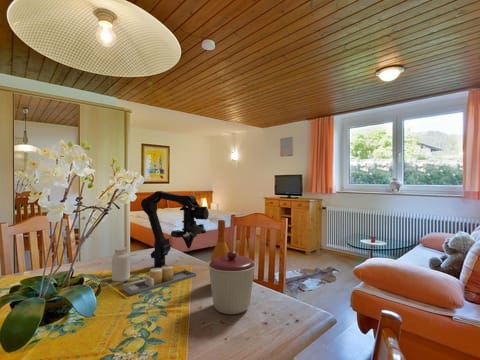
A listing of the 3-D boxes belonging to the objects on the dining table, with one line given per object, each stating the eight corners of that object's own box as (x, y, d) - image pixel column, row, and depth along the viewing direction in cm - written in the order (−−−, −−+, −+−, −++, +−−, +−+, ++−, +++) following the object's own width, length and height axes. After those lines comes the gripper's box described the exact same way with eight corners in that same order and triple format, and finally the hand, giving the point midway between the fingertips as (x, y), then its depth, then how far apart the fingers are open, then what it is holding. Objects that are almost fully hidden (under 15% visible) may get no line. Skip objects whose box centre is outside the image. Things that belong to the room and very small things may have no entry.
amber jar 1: (147, 284, 119) (147, 269, 119) (158, 280, 123) (158, 266, 123) (153, 287, 115) (153, 272, 115) (164, 283, 119) (165, 269, 119)
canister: (263, 316, 91) (263, 255, 92) (212, 324, 86) (212, 259, 87) (247, 295, 109) (247, 244, 109) (203, 300, 104) (204, 247, 104)
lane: (122, 290, 113) (122, 283, 113) (185, 273, 136) (185, 267, 136) (131, 297, 106) (131, 290, 106) (196, 277, 129) (196, 271, 129)
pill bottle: (107, 281, 124) (108, 249, 124) (121, 275, 131) (121, 245, 132) (120, 283, 121) (120, 251, 121) (133, 277, 128) (133, 247, 129)
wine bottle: (236, 286, 118) (236, 219, 119) (220, 292, 111) (220, 222, 112) (221, 280, 125) (222, 217, 125) (205, 286, 118) (206, 219, 118)
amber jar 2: (158, 280, 123) (158, 266, 123) (169, 277, 127) (169, 264, 127) (164, 284, 119) (164, 269, 119) (175, 280, 123) (175, 266, 123)
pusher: (122, 290, 111) (122, 281, 111) (146, 283, 119) (146, 275, 119) (128, 294, 107) (129, 285, 107) (154, 287, 115) (154, 278, 115)
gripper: (182, 222, 127) (182, 254, 127) (212, 218, 140) (212, 247, 140) (170, 220, 135) (170, 250, 134) (199, 216, 148) (199, 244, 148)
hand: (188, 248), depth 139 cm, fingers closed
